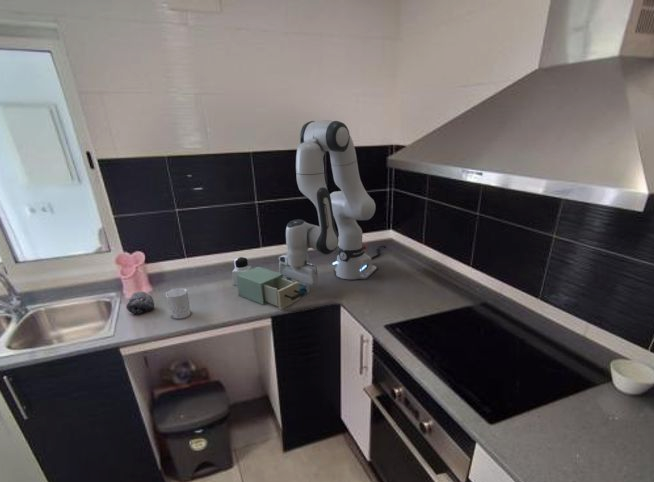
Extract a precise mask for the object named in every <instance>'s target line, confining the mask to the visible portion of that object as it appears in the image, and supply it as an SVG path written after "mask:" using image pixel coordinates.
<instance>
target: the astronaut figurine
mask: <svg viewBox="0 0 654 482" xmlns="http://www.w3.org/2000/svg"><path fill="white" fill-rule="evenodd" d="M233 264H234V268H233V270H232V271H231V274H232V281H233V286H238V283H237V277H236V275H238V274H240V273H243V272H246V271H248V270H251V269H253V268H252V266H251V265H249V263H248V258H246V257H243V256H239V257H236V258H234V259H233Z"/></svg>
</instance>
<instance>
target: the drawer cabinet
mask: <svg viewBox="0 0 654 482" xmlns="http://www.w3.org/2000/svg"><path fill="white" fill-rule="evenodd" d="M236 277H237V283H238V285H237V290H238V295H239V296H240V297H243V298H245V299H248V300H250V301H253V302H255V303H258V304H261V305H266V304H268V303H269V302H267V301H264V294H263V286H262V285H263V284H266V283H268V282H270V281H272V280H275V279H277V278H279V277H281V278H284V276H283V274H280V272H277V271H274V270H270V269H268V268H265V267H261V266H256V267H253V268H252V269H251V270H248V271H246V272H243V273H240V274H238V275H236Z"/></svg>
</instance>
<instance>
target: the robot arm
mask: <svg viewBox="0 0 654 482" xmlns="http://www.w3.org/2000/svg"><path fill="white" fill-rule="evenodd" d="M299 143H300V144H298V146H297V148H296V155H295V174H296V176H295V177H296V184H297V187H298V188H297V189H298V190H299V191H300V193H301V194H302V195H303V196H304V197H306V198H307V199H308V200H310V202H311V203H313V205H314V207H315V209H316V212H317V217H318V225H315V224H312V223H308V222H306V221H305V220H304V219H293V220H290V221H289V222H288V223H287V225H286V226H285V227H286V228H285V244H286V247H287V249H286V253H284V254H282V255H279V256H278V261H279V262H278V273H280V274H283V277H285V278H286V279H287V280H290V281H293V283H295V282H294V281H296V282H299V283H300V282H301V283H302V284H305V285H306V286H307V287H306V288H305V292H307V293H310V292H311V287H312V286H316V285H317V284H318V283H319V281H320V280H319V273H318V267H317V266H316V265H315V263H313V262H309V249H313V250H315V251H317V252H319V253H321V254H322V255H331V254H332V253H334V252H335V251H336V249H337V254H338V255H337V256H336V261H334V262H332V265H336V267H335V268H334V272H335V275H336V277H338V278H340V279H342V280H350V281H351V280H352V281H353V280H366V279H368V278H369V277H370V276H371V275H372V274H373V273H374V272H375V271H376V270H377V269H378V268H377V266H376V265H375V264H373V259H375V258H377V257H379V256H380V255H381V252H380V251H379V250H380V249H381V248H384V249H386V245H380V246H379V247H378V248H379V249H378V248H377V249H376V252H377V254H376V255H374V256H372V257H371V256H370V255H368V254H367V253H366V252H365V250H367V249H368V245H366V244H363V230H362V227H361V226H360V225H359V223H358V222H357V221H369V220H371V219H372V218H373V216H374V215H375V213H376V209H377V207H376V206H377V205H376V203H375V200H374V199H373V198H372V197H371V196H370V195H369V193H368V192H367V190H366V189H365V187H364V185H363V182H362V180H361V176H360V172H359V171H360V170H359V165H358V158H357V153H356V148H355V145H354V140H353V138H352V136H351V135H350V130H349V128H348V126H347V124H346V123H344V122H341V121H340V120H339V121H338V120H330V119H322V120H311V121H308V122H305V123H304V124H303V126H302V127H301V129H300V133H299ZM326 152H328V153H329V158H330V165H331V166H330V167H331V172H332V178H333V181H334V184H335V186H337V188H339V189H340V190H338V191H337V190H336V191H333V192H331V193H330V192H329V190H328V187H327V184H326V178H325V165H324V156H325V154H326ZM335 224H336V225H335ZM336 227H337V229H336ZM383 246H384V247H383ZM380 247H381V248H380Z"/></svg>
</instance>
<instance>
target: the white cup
mask: <svg viewBox="0 0 654 482" xmlns="http://www.w3.org/2000/svg"><path fill="white" fill-rule="evenodd" d="M165 297H166V301H167V304H168V307H169V310H170V312H171V315H172V318H174V319H176V320H179V319H180V320H181V319H185V318H187V317H189V316H191V308H190V307H191V306H190V300H189V299H190V298H189V294H188V290H187V289H186V288H183V287H179V288H178V287H177V288H172V289H170V290H168V291H166V292H165Z"/></svg>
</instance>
